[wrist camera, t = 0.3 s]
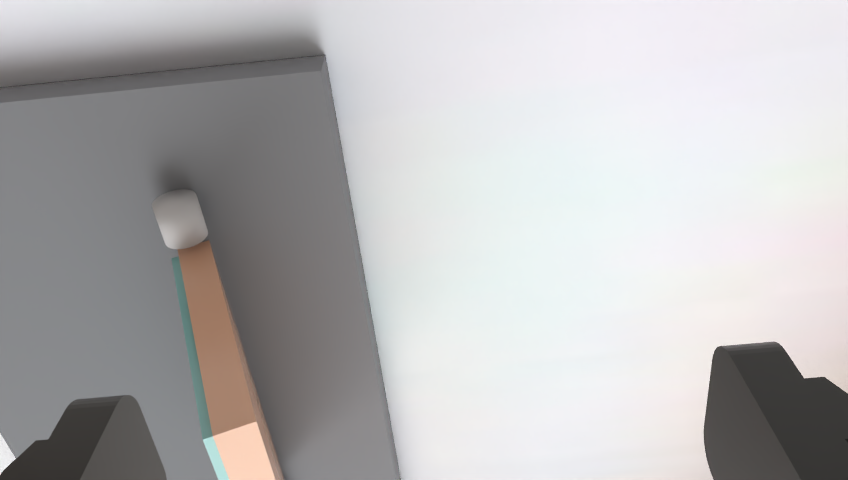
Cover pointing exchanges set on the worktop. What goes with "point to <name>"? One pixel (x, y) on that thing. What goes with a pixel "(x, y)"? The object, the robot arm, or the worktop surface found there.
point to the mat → (158, 242)
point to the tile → (221, 373)
